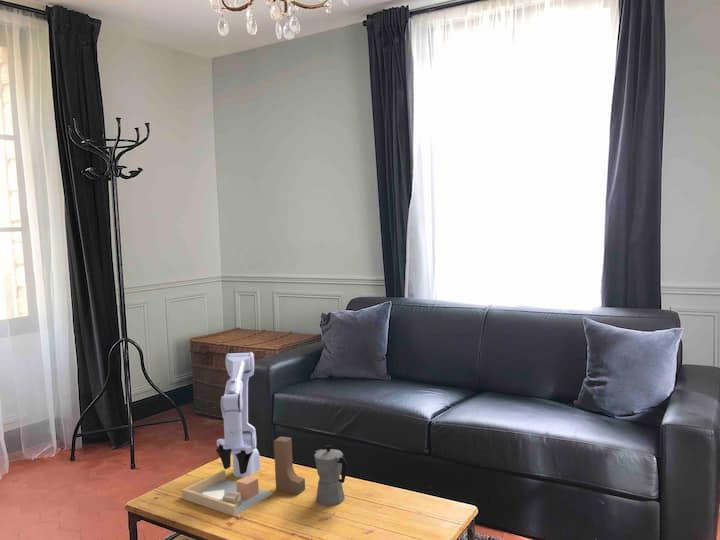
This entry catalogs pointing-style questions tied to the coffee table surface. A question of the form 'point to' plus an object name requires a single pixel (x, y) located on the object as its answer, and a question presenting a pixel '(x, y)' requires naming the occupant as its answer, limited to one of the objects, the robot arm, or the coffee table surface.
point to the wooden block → (286, 468)
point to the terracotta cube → (247, 487)
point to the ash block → (233, 498)
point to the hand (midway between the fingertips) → (235, 470)
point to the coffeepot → (330, 476)
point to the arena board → (221, 483)
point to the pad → (215, 494)
